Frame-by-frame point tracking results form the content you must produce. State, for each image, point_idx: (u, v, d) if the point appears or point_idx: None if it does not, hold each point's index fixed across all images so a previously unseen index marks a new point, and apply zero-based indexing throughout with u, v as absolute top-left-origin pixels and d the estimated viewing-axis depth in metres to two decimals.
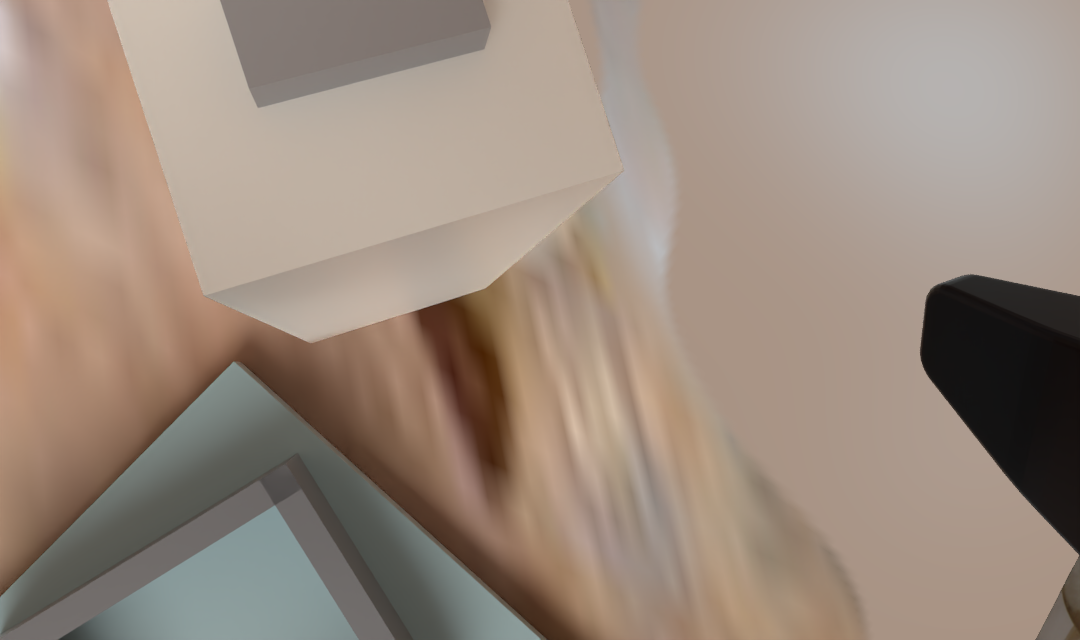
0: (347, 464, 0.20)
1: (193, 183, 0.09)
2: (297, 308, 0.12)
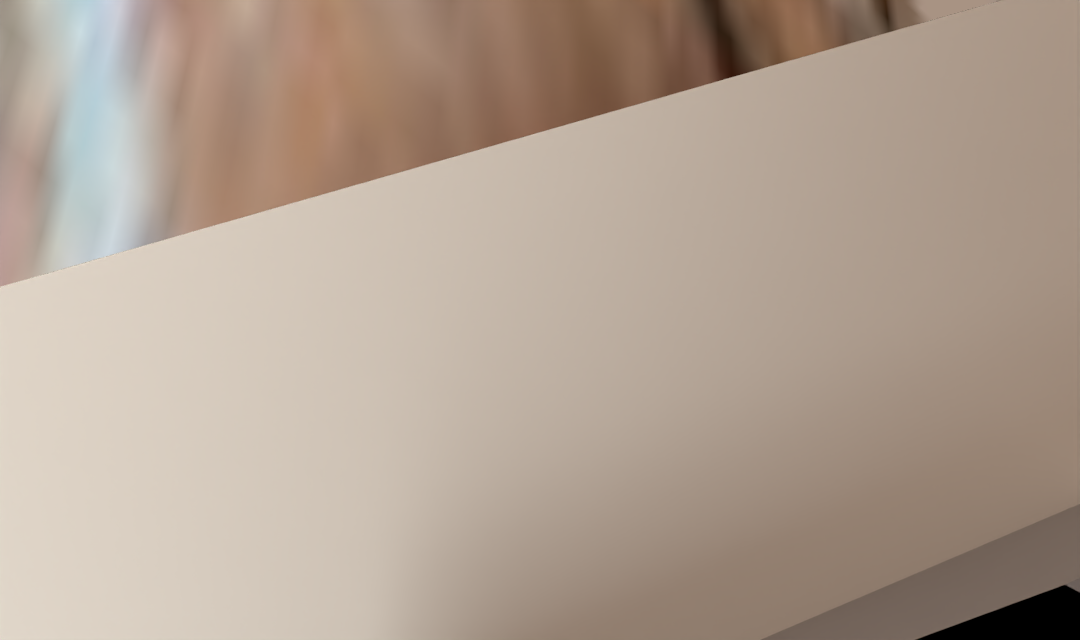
0: None
1: None
2: None
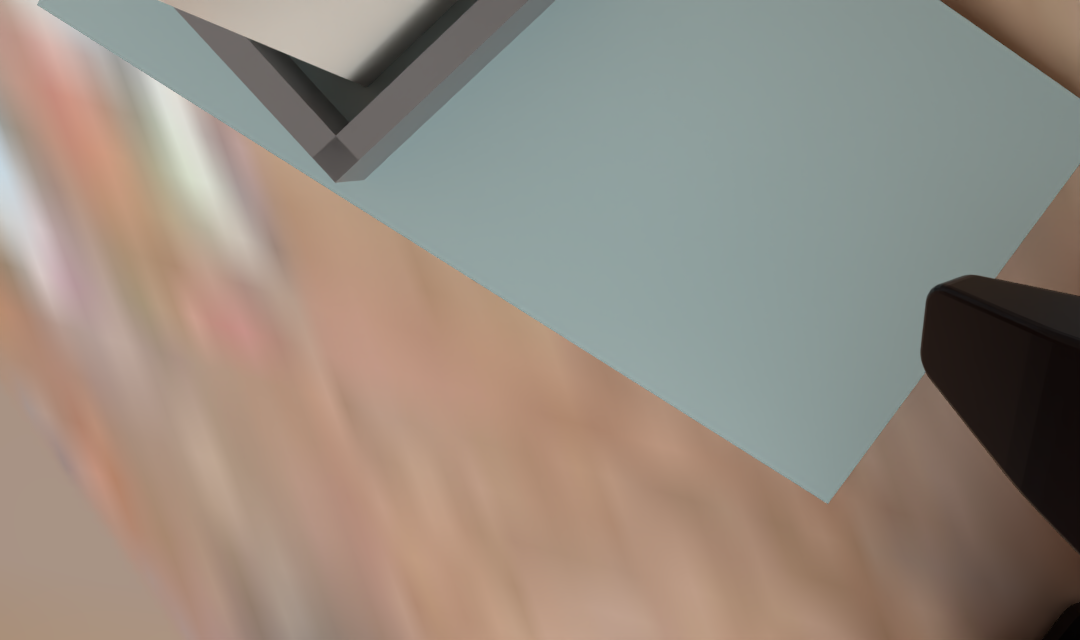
0: None
1: None
2: None
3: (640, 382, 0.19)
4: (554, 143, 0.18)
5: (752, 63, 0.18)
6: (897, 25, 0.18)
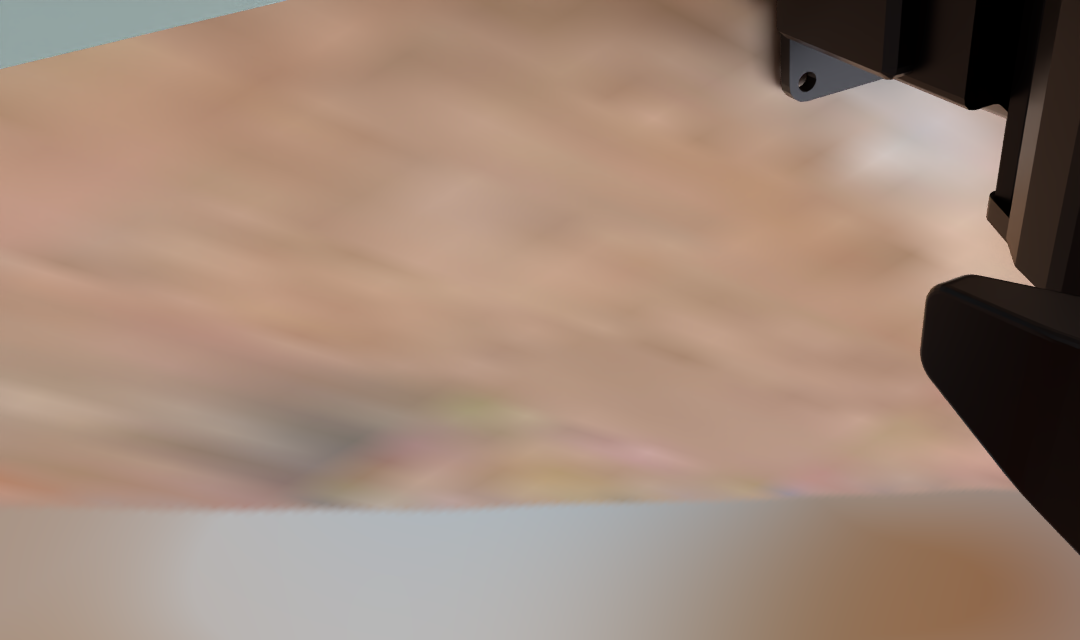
0: None
1: None
2: None
3: (243, 6, 0.16)
4: None
5: None
6: None
